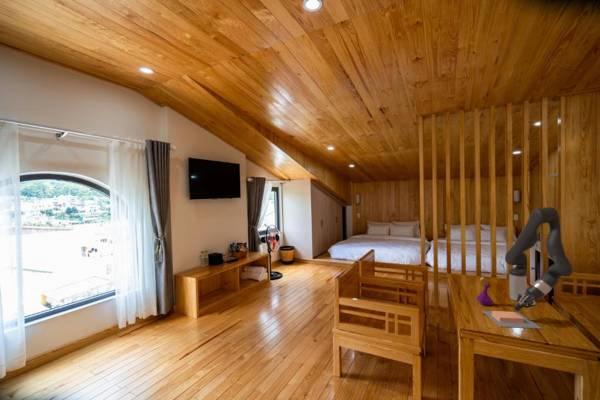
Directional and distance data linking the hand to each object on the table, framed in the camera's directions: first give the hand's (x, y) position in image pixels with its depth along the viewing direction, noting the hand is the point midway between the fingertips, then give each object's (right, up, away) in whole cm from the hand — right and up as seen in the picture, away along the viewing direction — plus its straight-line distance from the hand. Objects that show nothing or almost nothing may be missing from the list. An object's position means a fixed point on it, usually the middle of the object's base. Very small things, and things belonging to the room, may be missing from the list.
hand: (515, 309), depth 152 cm
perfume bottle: (-1, -6, +23) cm, 24 cm away
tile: (+2, -4, 0) cm, 5 cm away
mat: (-3, -6, +1) cm, 7 cm away
